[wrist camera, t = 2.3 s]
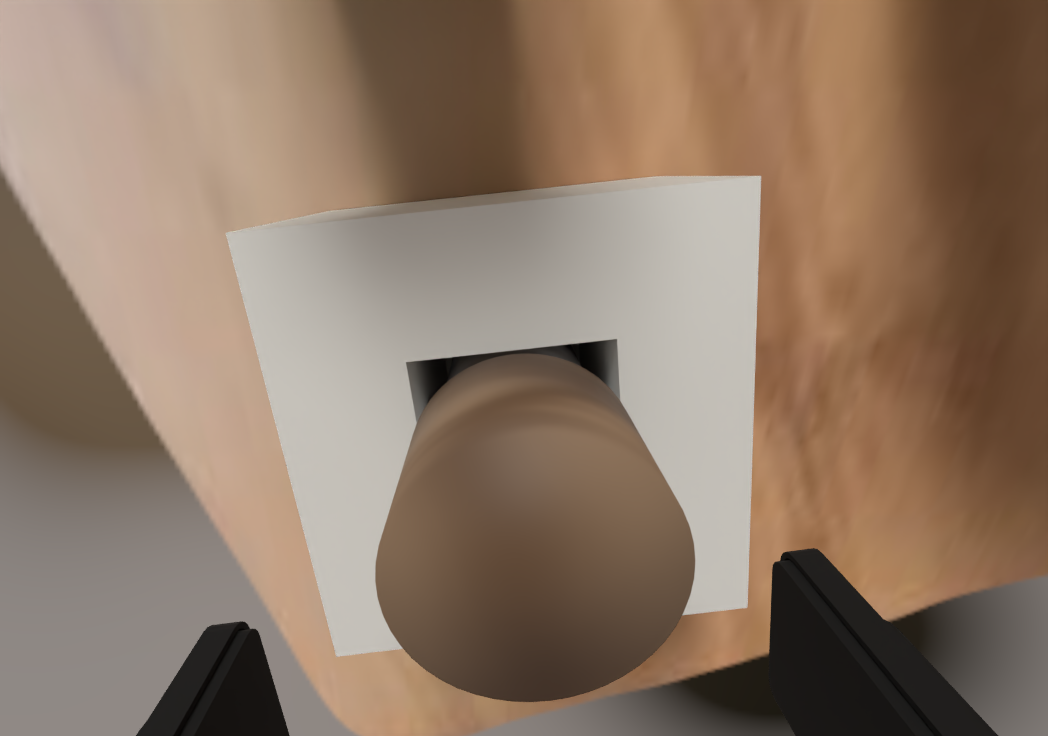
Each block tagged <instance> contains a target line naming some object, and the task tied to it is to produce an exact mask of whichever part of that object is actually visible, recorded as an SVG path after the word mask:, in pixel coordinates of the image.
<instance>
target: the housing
mask: <svg viewBox="0 0 1048 736" xmlns="http://www.w3.org/2000/svg"><path fill="white" fill-rule="evenodd" d="M760 195H761V176H654V177H645V178H635V179H626V180H616V181H607V182H597V183H588V184H578V185H569V186H560V187H550V188H541V189H531V190H522V191H512V192H503V193H493V194H484V195H474V196H465V197H456V198H446V199H437V200H427V201H418V202H408V203H399V204H389V205H380V206H371V207H361V208H352V209H342V210H333V211H327V212H322V213H317V214H312V215H308V216H303V217H298V218H293V219H289V220H284V221H279V222H275V223H270V224H265V225H260V226H256V227H251V228H246V229H241V230H237V231H232V232H227V233H226V236H227V240H228V244H229V247H230V251H231V255H232V259H233V263H234V267H235V270H236V274H237V278H238V282H239V286H240V290H241V293H242V297H243V301H244V305H245V309H246V313H247V316H248V320H249V324H250V328H251V332H252V336H253V339H254V343H255V347H256V351H257V355H258V358H259V362H260V366H261V370H262V374H263V378H264V381H265V385H266V389H267V393H268V397H269V401H270V404H271V408H272V412H273V416H274V420H275V424H276V427H277V431H278V435H279V439H280V443H281V446H282V450H283V454H284V458H285V462H286V466H287V469H288V473H289V477H290V481H291V485H292V489H293V492H294V496H295V500H296V504H297V508H298V512H299V515H300V519H301V523H302V527H303V531H304V535H305V538H306V542H307V546H308V550H309V554H310V557H311V561H312V565H313V569H314V573H315V577H316V580H317V584H318V588H319V592H320V596H321V600H322V603H323V607H324V611H325V615H326V619H327V623H328V626H329V630H330V634H331V638H332V642H333V645H334V649H335V653H336V657H338V656H346V655H354V654H363V653H371V652H379V651H388V650H396V649H403V648H402V647H401V646H400V644H399V643H398V641H397V640H396V638H395V637H394V635H393V634H392V633H391V631H390V629H389V627H388V625H387V623H386V621H385V619H384V617H383V614H382V611H381V608H380V604H379V601H378V597H377V590H376V583H375V565H376V558H377V552H378V547H379V543H380V540H381V536H382V533H383V530H384V527H385V523H386V520H387V517H388V514H389V510H390V507H391V504H392V501H393V497H394V494H395V491H396V488H397V484H398V481H399V478H400V475H401V472H402V468H403V465H404V462H405V459H406V455H407V452H408V449H409V446H410V442H411V439H412V436H413V433H414V430H415V427H416V424H417V421H418V419H419V417H420V415H421V413H422V411H423V410H424V408H425V406H426V405H427V404H428V402H429V401H430V399H431V398H432V396H433V395H434V394H435V393H436V392H437V391H438V390H439V389H440V388H441V387H442V386H443V385H444V384H445V383H447V380H448V376H449V371H450V367H451V362H452V358H453V357H458V356H467V355H476V354H486V353H495V352H504V351H513V350H522V349H531V348H540V347H549V346H558V345H567V344H571V345H572V347H573V349H574V351H575V354H576V356H577V358H578V360H579V362H580V364H581V366H582V367H583V368H585V369H587V370H588V371H590V372H591V373H593V374H594V375H595V376H597V377H598V378H600V379H601V380H602V381H603V382H604V383H605V384H606V385H607V386H609V387H610V389H611V390H612V391H613V392H614V393H615V395H616V396H617V397H618V398H619V400H620V401H621V403H622V405H623V406H624V408H625V409H626V411H627V413H628V415H629V416H630V418H631V420H632V422H633V423H634V425H635V427H636V429H637V430H638V432H639V434H640V436H641V437H642V439H643V441H644V443H645V444H646V446H647V448H648V450H649V451H650V453H651V455H652V457H653V458H654V460H655V462H656V464H657V465H658V467H659V469H660V471H661V472H662V474H663V476H664V478H665V479H666V481H667V483H668V485H669V486H670V488H671V490H672V492H673V493H674V495H675V497H676V499H677V500H678V502H679V504H680V506H681V508H682V509H683V511H684V514H685V516H686V519H687V521H688V523H689V526H690V529H691V533H692V538H693V542H694V550H695V574H694V581H693V586H692V590H691V594H690V597H689V600H688V602H687V605H686V608H685V610H684V612H683V614H682V615H689V614H698V613H706V612H715V611H723V610H731V609H740V608H747V605H748V574H749V542H750V511H751V479H752V448H753V416H754V385H755V353H756V322H757V290H758V258H759V227H760Z"/></svg>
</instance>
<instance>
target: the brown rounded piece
mask: <svg viewBox="0 0 1048 736" xmlns="http://www.w3.org/2000/svg"><path fill="white" fill-rule="evenodd" d="M694 574H695V550H694V542H693V538H692V533H691V529H690V526H689V523H688V521H687V519H686V516H685V514H684V511H683V509H682V508H681V506H680V504H679V502H678V500H677V499H676V497H675V495H674V493H673V492H672V490H671V488H670V486H669V485H668V483H667V481H666V479H665V478H664V476H663V474H662V472H661V471H660V469H659V467H658V465H657V464H656V462H655V460H654V458H653V457H652V455H651V453H650V451H649V450H648V448H647V446H646V444H645V443H644V441H643V439H642V437H641V436H640V434H639V432H638V430H637V429H636V427H635V425H634V423H633V422H632V420H631V418H630V416H629V415H628V413H627V411H626V409H625V408H624V406H623V405H622V403H621V401H620V400H619V398H618V397H617V396H616V395H615V393H614V392H613V391H612V390H611V389H610V387H609V386H607V385H606V384H605V383H604V382H603V381H602V380H601V379H600V378H598V377H597V376H595V375H594V374H593V373H591V372H590V371H588V370H587V369H585V368H583V367H582V366H581V364H580V362H579V360H578V358H577V356H576V354H575V351H574V349H573V347H572V345H571V344H567V345H558V346H549V347H540V348H531V349H522V350H513V351H504V352H495V353H486V354H476V355H467V356H458V357H453V358H452V362H451V367H450V371H449V376H448V380H447V383H445V384H444V385H443V386H442V387H441V388H440V389H439V390H438V391H437V392H436V393H435V394H434V395H433V396H432V398H431V399H430V401H429V402H428V404H427V405H426V406H425V408H424V410H423V411H422V413H421V415H420V417H419V419H418V421H417V424H416V427H415V430H414V433H413V436H412V439H411V442H410V446H409V449H408V452H407V455H406V459H405V462H404V465H403V468H402V472H401V475H400V478H399V481H398V484H397V488H396V491H395V494H394V497H393V501H392V504H391V507H390V510H389V514H388V517H387V520H386V523H385V527H384V530H383V533H382V536H381V540H380V543H379V547H378V552H377V558H376V565H375V583H376V590H377V597H378V601H379V604H380V608H381V611H382V614H383V617H384V619H385V621H386V623H387V625H388V627H389V629H390V631H391V633H392V634H393V635H394V637H395V638H396V640H397V641H398V643H399V644H400V646H401V647H402V648H403V649H404V650H405V651H406V652H407V653H408V654H409V656H410V657H411V658H412V659H413V660H415V661H416V662H417V663H418V664H419V665H420V666H422V667H423V668H424V669H425V670H426V671H428V672H430V673H431V674H433V675H434V676H436V677H437V678H439V679H440V680H442V681H444V682H446V683H448V684H450V685H452V686H454V687H456V688H459V689H461V690H464V691H467V692H470V693H473V694H475V695H480V696H484V697H488V698H492V699H498V700H506V701H517V702H537V701H551V700H557V699H563V698H568V697H573V696H576V695H580V694H583V693H587V692H590V691H592V690H595V689H598V688H600V687H603V686H605V685H607V684H609V683H611V682H613V681H615V680H617V679H619V678H621V677H623V676H624V675H626V674H627V673H629V672H630V671H632V670H633V669H635V668H636V667H638V666H639V665H640V664H642V663H643V662H644V661H645V660H646V659H648V658H649V657H650V656H651V655H652V654H653V653H654V652H655V651H656V650H657V649H658V648H659V647H660V646H661V645H662V644H663V643H664V642H665V640H666V639H667V638H668V636H669V635H670V634H671V632H672V631H673V630H674V628H675V627H676V625H677V623H678V622H679V620H680V618H681V616H682V614H683V612H684V610H685V608H686V605H687V602H688V600H689V597H690V594H691V590H692V586H693V581H694Z"/></svg>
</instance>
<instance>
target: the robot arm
mask: <svg viewBox="0 0 1048 736" xmlns="http://www.w3.org/2000/svg"><path fill="white" fill-rule="evenodd" d="M769 683H770V687H771V691H772V693H773V696H774V698H775V700H776V702H777V704H778V705H779V707H780V709H781V710H782V713H783V714H784V716H785V718H786V720H787V721H788V723H789V725H790V727H791V728H792V730H793V732H794V734H795V735H796V736H998V735H997V734H996V733H995V732H994V731H993V730H992V729H991V728H990V727H989V726H988V724H987V723H986V722H985V721H984V720H983V719H982V718H981V717H980V716H979V715H978V714H977V713H976V712H975V711H974V710H973V708H972V707H970V705H969V704H968V703H967V702H966V701H965V700H964V699H963V698H962V697H961V696H960V695H959V694H958V692H957V691H956V690H955V689H954V688H953V687H952V686H951V685H950V684H949V683H948V682H947V681H946V680H945V679H944V678H943V677H942V675H941V674H940V673H939V672H938V671H937V670H936V669H935V668H934V667H933V666H932V665H931V664H930V663H929V662H928V660H927V659H926V658H925V657H924V656H923V655H922V654H921V653H920V652H919V651H918V650H917V649H916V648H915V647H914V646H913V645H912V643H911V642H910V641H909V640H908V639H907V638H906V637H905V636H904V635H903V634H902V633H901V632H900V631H899V630H898V629H897V628H896V627H895V626H894V625H893V624H891V623H890V622H888V621H886V620H883V618H882V617H881V616H880V615H879V614H878V613H877V612H876V611H875V610H874V609H873V608H872V607H871V605H870V604H869V603H868V602H867V601H866V600H865V599H864V598H863V597H862V596H861V595H860V594H859V593H858V591H857V590H856V589H855V588H854V587H853V586H852V585H851V584H850V583H849V582H848V581H847V580H846V578H845V577H844V576H843V575H842V574H841V573H840V572H839V571H838V570H837V569H836V568H835V567H834V565H833V564H832V563H831V562H830V561H829V560H828V559H827V558H826V557H825V556H824V555H823V554H822V553H821V552H820V551H819V550H818V549H814V548H813V549H805V550H797V551H790V552H785V553H783V554H782V556H781V560H780V561H778V562H774V564H773V569H772V596H771V623H770V650H769ZM136 736H289V732H288V729H287V726H286V722H285V719H284V716H283V712H282V709H281V705H280V702H279V699H278V695H277V692H276V689H275V685H274V682H273V679H272V675H271V672H270V669H269V665H268V662H267V659H266V655H265V652H264V648H263V645H262V642H261V638H260V635H259V633H258V631H257V630H256V629H250V628H249V626H248V624H246V623H245V622H234V623H227V624H219V625H211V626H209V627H207V629H206V630H205V631H204V632H203V634H202V635H201V637H200V639H199V640H198V642H197V643H196V645H195V646H194V648H193V649H192V651H191V653H190V654H189V656H188V657H187V659H186V660H185V662H184V664H183V665H182V667H181V668H180V670H179V671H178V673H177V675H176V676H175V678H174V679H173V681H172V683H171V684H170V686H169V687H168V689H167V690H166V692H165V693H164V695H163V697H162V698H161V700H160V701H159V703H158V705H157V706H156V708H155V709H154V711H153V713H152V714H151V716H150V717H149V719H148V720H147V722H146V723H145V724H144V726H143V727H142V728H141V729H140V730H139V732H138V734H137V735H136Z"/></svg>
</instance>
